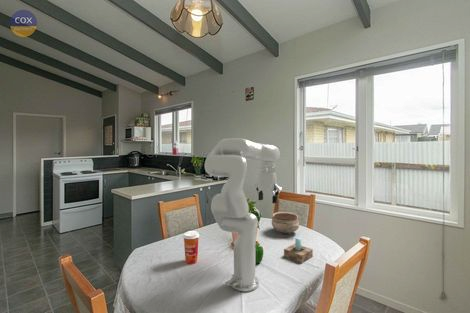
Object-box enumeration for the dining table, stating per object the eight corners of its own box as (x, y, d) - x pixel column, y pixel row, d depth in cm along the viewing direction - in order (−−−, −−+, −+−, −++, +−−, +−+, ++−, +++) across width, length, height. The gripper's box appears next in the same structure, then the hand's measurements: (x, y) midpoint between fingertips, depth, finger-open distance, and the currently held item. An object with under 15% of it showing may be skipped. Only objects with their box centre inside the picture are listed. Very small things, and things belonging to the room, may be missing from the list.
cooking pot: (263, 229, 175) (264, 212, 174) (284, 225, 183) (284, 209, 182) (285, 241, 152) (285, 222, 152) (308, 236, 161) (308, 218, 160)
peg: (299, 258, 129) (299, 240, 129) (294, 256, 132) (294, 238, 131) (302, 256, 131) (302, 238, 131) (297, 254, 134) (297, 236, 133)
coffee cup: (180, 263, 123) (180, 235, 122) (188, 256, 131) (188, 229, 130) (194, 266, 120) (194, 237, 120) (202, 259, 128) (202, 231, 127)
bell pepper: (243, 262, 125) (243, 243, 124) (253, 256, 131) (253, 238, 131) (257, 267, 119) (257, 247, 119) (266, 261, 126) (266, 242, 125)
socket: (301, 263, 124) (301, 255, 124) (283, 256, 132) (284, 249, 132) (312, 256, 131) (312, 249, 131) (295, 250, 139) (295, 243, 139)
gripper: (251, 169, 134) (251, 199, 134) (276, 172, 121) (276, 205, 122) (260, 168, 139) (260, 197, 140) (285, 170, 126) (284, 203, 127)
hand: (267, 201), depth 131 cm, fingers open, 9 cm apart
